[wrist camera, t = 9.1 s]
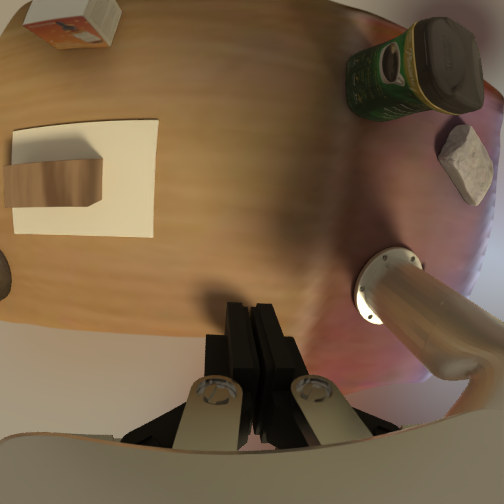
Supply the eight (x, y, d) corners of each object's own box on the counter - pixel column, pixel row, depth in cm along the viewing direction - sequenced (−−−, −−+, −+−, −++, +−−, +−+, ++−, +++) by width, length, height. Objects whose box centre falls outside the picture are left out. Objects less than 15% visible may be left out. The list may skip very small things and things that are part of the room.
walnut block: (88, 159, 27) (3, 165, 24) (87, 206, 28) (4, 208, 26) (103, 158, 31) (24, 163, 29) (102, 199, 33) (25, 200, 31)
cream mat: (158, 120, 31) (158, 120, 31) (153, 236, 36) (153, 237, 35) (14, 131, 28) (13, 131, 27) (15, 232, 32) (14, 233, 32)
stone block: (449, 119, 38) (432, 160, 38) (471, 115, 34) (456, 159, 33) (478, 167, 42) (463, 208, 42) (498, 167, 38) (485, 211, 38)
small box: (58, 50, 26) (19, 26, 16) (71, 15, 24) (38, -16, 14) (111, 48, 27) (82, 16, 17) (124, 11, 26) (101, -27, 16)
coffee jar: (392, 126, 36) (497, 124, 18) (342, 116, 34) (442, 98, 17) (392, 63, 33) (488, 34, 15) (342, 49, 31) (431, -2, 14)
